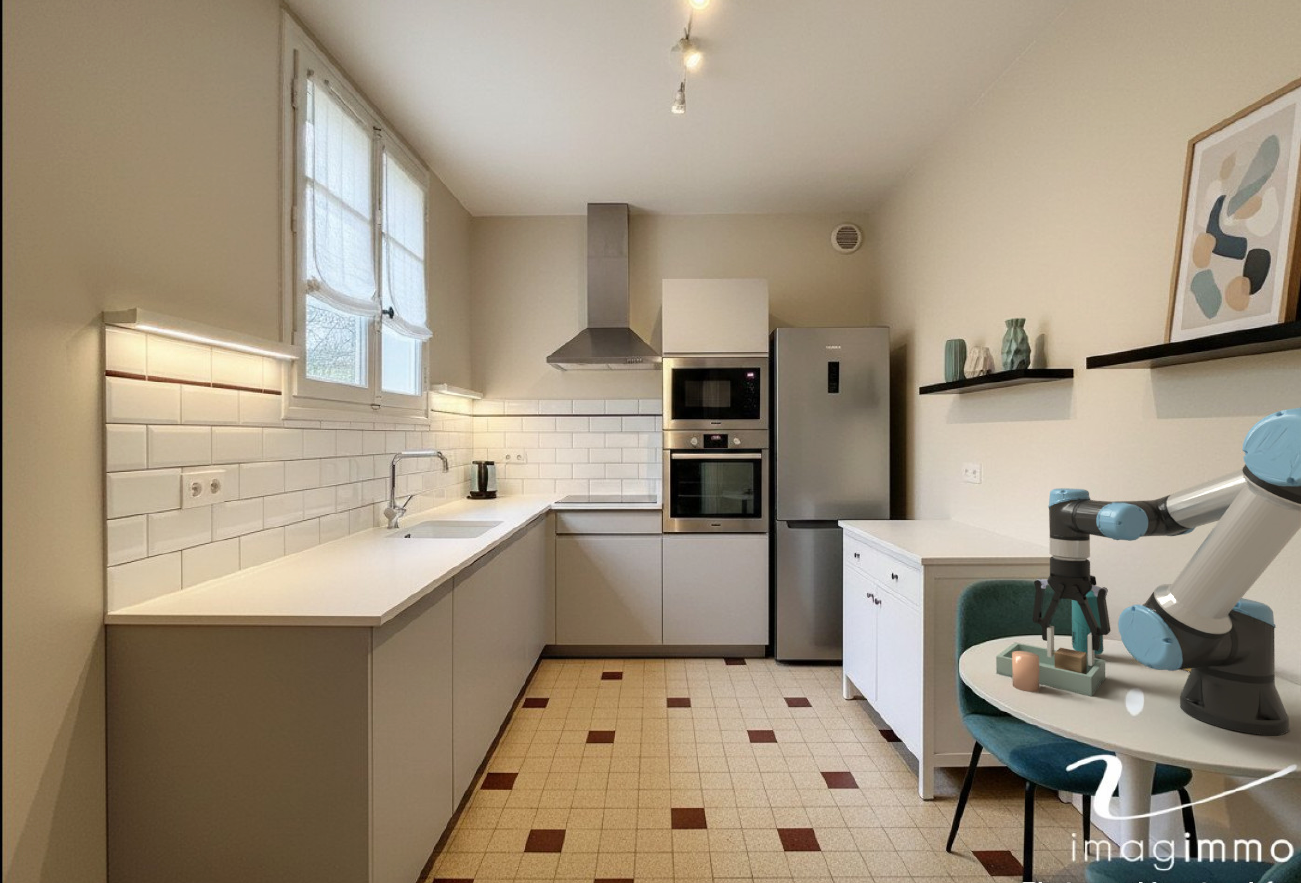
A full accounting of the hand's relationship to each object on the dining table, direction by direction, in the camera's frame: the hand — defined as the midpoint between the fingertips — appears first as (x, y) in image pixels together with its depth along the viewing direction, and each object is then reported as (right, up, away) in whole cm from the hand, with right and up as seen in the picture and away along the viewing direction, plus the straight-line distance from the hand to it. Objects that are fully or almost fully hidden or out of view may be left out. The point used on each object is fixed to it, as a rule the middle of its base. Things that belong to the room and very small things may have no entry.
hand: (1070, 659), depth 139 cm
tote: (-4, -4, +1) cm, 6 cm away
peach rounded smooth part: (-13, -4, -5) cm, 15 cm away
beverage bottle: (+13, -4, +14) cm, 19 cm away
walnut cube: (0, -3, 0) cm, 3 cm away
